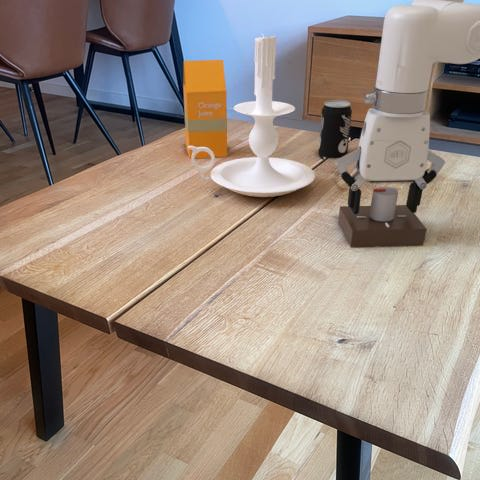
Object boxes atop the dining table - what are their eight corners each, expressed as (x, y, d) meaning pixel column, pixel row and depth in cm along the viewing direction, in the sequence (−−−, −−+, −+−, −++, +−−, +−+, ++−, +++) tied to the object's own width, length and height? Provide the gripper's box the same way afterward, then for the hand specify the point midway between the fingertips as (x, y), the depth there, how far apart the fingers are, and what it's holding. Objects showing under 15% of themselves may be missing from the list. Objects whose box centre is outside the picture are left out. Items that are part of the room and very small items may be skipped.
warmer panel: (404, 220, 98) (407, 203, 97) (423, 245, 90) (427, 227, 88) (338, 222, 98) (339, 205, 96) (350, 247, 89) (352, 229, 88)
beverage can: (330, 163, 124) (336, 108, 117) (312, 156, 129) (316, 102, 122) (352, 158, 127) (359, 104, 120) (333, 151, 132) (338, 98, 125)
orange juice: (186, 148, 133) (181, 58, 122) (222, 146, 134) (221, 56, 123) (189, 159, 127) (185, 64, 116) (227, 156, 128) (226, 62, 117)
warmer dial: (390, 211, 94) (394, 184, 91) (396, 221, 91) (401, 193, 88) (366, 212, 94) (370, 184, 91) (372, 221, 90) (376, 193, 88)
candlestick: (192, 172, 119) (185, 26, 104) (306, 171, 120) (317, 25, 104) (187, 209, 102) (178, 41, 87) (320, 208, 103) (335, 41, 87)
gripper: (347, 108, 78) (335, 220, 88) (466, 106, 79) (442, 218, 89) (336, 96, 85) (326, 202, 94) (447, 95, 86) (425, 200, 95)
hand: (382, 210), depth 92 cm, fingers open, 9 cm apart
